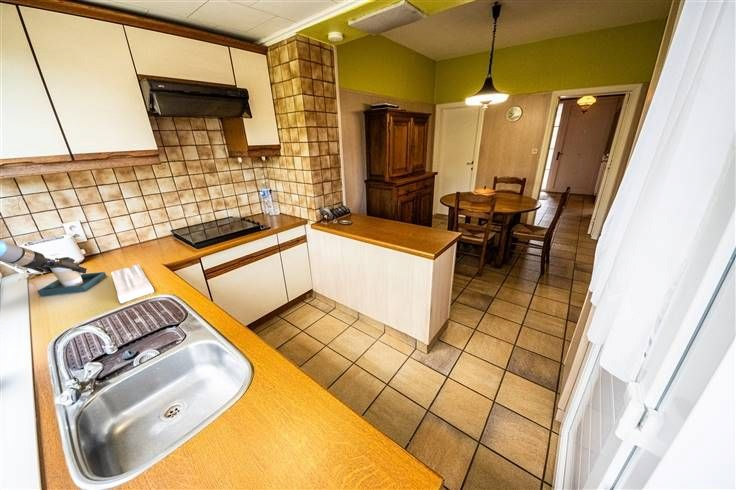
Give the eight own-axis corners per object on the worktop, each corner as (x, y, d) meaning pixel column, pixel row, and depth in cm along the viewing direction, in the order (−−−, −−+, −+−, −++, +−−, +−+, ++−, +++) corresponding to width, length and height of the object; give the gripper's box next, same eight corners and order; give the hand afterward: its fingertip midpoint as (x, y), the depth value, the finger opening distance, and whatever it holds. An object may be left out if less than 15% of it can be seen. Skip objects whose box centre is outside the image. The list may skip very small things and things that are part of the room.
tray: (40, 296, 128) (36, 291, 127) (66, 281, 142) (63, 276, 140) (85, 291, 131) (82, 286, 130) (107, 276, 144) (104, 271, 143)
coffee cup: (85, 279, 142) (71, 253, 136) (87, 284, 136) (73, 258, 130) (60, 286, 135) (45, 260, 129) (62, 292, 130) (46, 265, 124)
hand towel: (138, 262, 150) (152, 287, 125) (141, 268, 152) (155, 293, 126) (109, 270, 142) (118, 299, 117) (112, 276, 144) (121, 306, 118)
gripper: (-6, 269, 113) (49, 281, 134) (51, 263, 116) (96, 276, 137) (0, 253, 116) (53, 267, 137) (56, 247, 118) (99, 263, 139)
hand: (74, 272), depth 137 cm, fingers closed on coffee cup, 9 cm apart
